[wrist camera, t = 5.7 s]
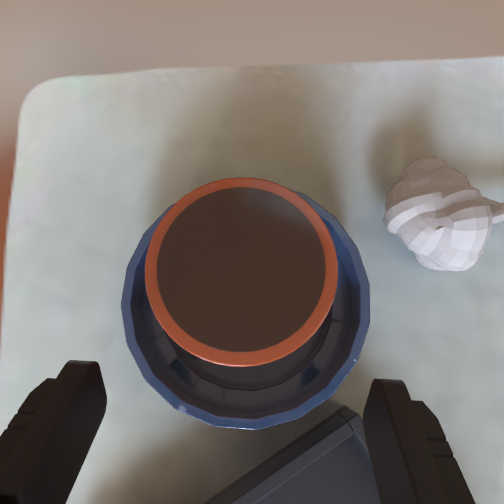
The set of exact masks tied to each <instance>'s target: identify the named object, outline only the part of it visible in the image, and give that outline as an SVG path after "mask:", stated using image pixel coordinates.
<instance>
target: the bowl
mask: <svg viewBox="0 0 504 504" xmlns="http://www.w3.org/2000/svg"><path fill="white" fill-rule="evenodd" d="M287 189H288V188H287ZM289 190H291V189H289ZM291 191H292V192H294V193H296V194H297V195H298V196H300V197H301V198H302V199H304V200H305V201H306V202H307V203H308V204H309V205H310V206H311V207H312V208H313V209H314V210H315V211H316V212H317V214H318V215H319V216H320V217H321V219H322V220H323V222H324V223H325V225H326V227H327V228H328V231H329V233H330V235H331V237H332V240H333V243H334V246H335V250H336V255H337V261H338V281H337V289H336V293H335V297H334V301H333V303H332V306H331V308H330V311H329V313H328V315H327V316H326V318H325V320H324V322H323V323H322V325H321V326H320V327H319V329H318V330H317V331H316V333H315V334H314V335H313V336H312V337H311V338H310V339H309V340H308V341H307V342H306V343H305V344H303V345H302V346H301V347H299V348H298V349H297V350H295V351H294V352H292V353H290V354H289V355H287V356H285V357H283V358H281V359H278V360H276V361H273V362H271V363H267V364H262V365H258V366H250V367H229V366H224V365H218V364H214V363H211V362H208V361H205V360H203V359H201V358H199V357H196V356H194V355H192V354H191V353H189V352H188V351H186V350H185V349H183V348H182V347H180V346H179V345H178V344H177V343H176V342H175V341H174V340H173V339H171V337H170V336H169V335H168V334H167V333H166V332H165V330H164V329H163V328H162V326H161V325H160V323H159V322H158V320H157V319H156V317H155V315H154V312H153V310H152V308H151V306H150V302H149V299H148V296H147V291H146V285H145V262H146V255H147V251H148V247H149V244H150V241H151V239H152V236H153V233H154V232H155V230H156V228H157V226H158V224H159V223H160V221H161V220H162V218H163V217H164V216H165V214H166V213H167V212H168V211H169V210H170V209H171V208H172V207H173V206H174V204H173V205H171V206H170V207H169V208H168V209H167V210H166V211H165V212H164V213H163V214H162V215H161V216H160V217H159V218H158V219H157V220H156V221H155V222H154V223H153V224H152V225H151V226H150V227H149V229H148V230H147V231H146V232H145V233H144V234H143V236H142V238H141V240H140V242H139V244H138V246H137V248H136V250H135V252H134V254H133V256H132V258H131V260H130V262H129V264H128V267H127V270H126V276H125V282H124V289H123V295H122V301H121V310H122V316H123V323H124V329H125V336H126V342H127V346H128V348H129V350H130V352H131V354H132V356H133V357H134V359H135V361H136V363H137V365H138V367H139V369H140V371H141V373H142V375H143V377H144V379H145V380H146V382H147V383H149V384H150V385H151V386H152V387H153V388H154V389H155V390H156V391H157V392H158V393H159V394H160V395H161V396H162V397H163V398H164V399H165V400H166V401H167V402H168V403H169V404H170V405H172V406H173V407H174V408H175V409H176V410H178V411H180V412H183V413H185V414H187V415H189V416H191V417H194V418H196V419H198V420H200V421H202V422H205V423H207V424H209V425H211V426H215V427H223V428H236V429H248V430H256V429H257V430H259V429H263V428H267V427H270V426H274V425H278V424H282V423H285V422H289V421H293V420H297V418H298V419H299V418H300V417H302V416H303V415H305V414H306V413H308V412H309V411H311V410H312V409H314V408H315V407H316V406H318V405H319V404H321V403H322V402H324V401H325V400H327V399H328V398H330V397H331V396H332V395H333V394H334V393H335V392H336V390H337V389H338V388H339V386H340V385H341V384H342V382H343V381H344V379H345V378H346V377H347V375H348V374H349V373H350V371H351V370H352V369H353V367H354V366H355V365H356V363H357V361H358V359H359V356H360V353H361V350H362V346H363V343H364V340H365V337H366V334H367V331H368V328H369V325H370V324H369V323H370V285H369V281H368V278H367V275H366V272H365V269H364V266H363V263H362V260H361V257H360V254H359V251H358V248H357V246H356V245H355V244H354V242H353V241H352V239H351V238H350V237H349V235H348V234H347V232H346V231H345V230H344V228H343V227H342V226H341V224H340V223H339V221H338V220H337V219H336V218H335V217H334V216H333V215H332V214H330V213H329V212H328V211H326V210H325V209H324V208H323V207H321V206H320V205H319V204H317V203H316V202H315V201H313V200H312V199H311V198H309V197H308V196H306V195H304V194H302V193H299V192H296V191H293V190H291ZM175 204H176V203H175Z"/></svg>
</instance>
